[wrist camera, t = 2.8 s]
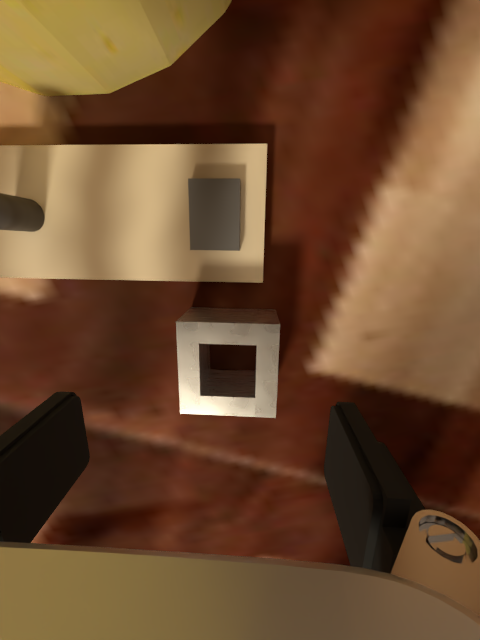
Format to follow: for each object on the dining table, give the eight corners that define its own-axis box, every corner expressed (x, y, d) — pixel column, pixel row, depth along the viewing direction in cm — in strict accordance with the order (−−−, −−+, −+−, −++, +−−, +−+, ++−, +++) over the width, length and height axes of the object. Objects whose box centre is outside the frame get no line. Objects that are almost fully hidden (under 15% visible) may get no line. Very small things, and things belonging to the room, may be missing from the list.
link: (275, 309, 20) (280, 324, 16) (272, 386, 22) (275, 417, 18) (191, 307, 21) (176, 321, 17) (193, 384, 22) (180, 413, 18)
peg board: (266, 150, 18) (271, 101, 12) (262, 280, 20) (264, 295, 14) (-41, 151, 19) (-180, 108, 13) (-15, 275, 21) (-125, 287, 15)
